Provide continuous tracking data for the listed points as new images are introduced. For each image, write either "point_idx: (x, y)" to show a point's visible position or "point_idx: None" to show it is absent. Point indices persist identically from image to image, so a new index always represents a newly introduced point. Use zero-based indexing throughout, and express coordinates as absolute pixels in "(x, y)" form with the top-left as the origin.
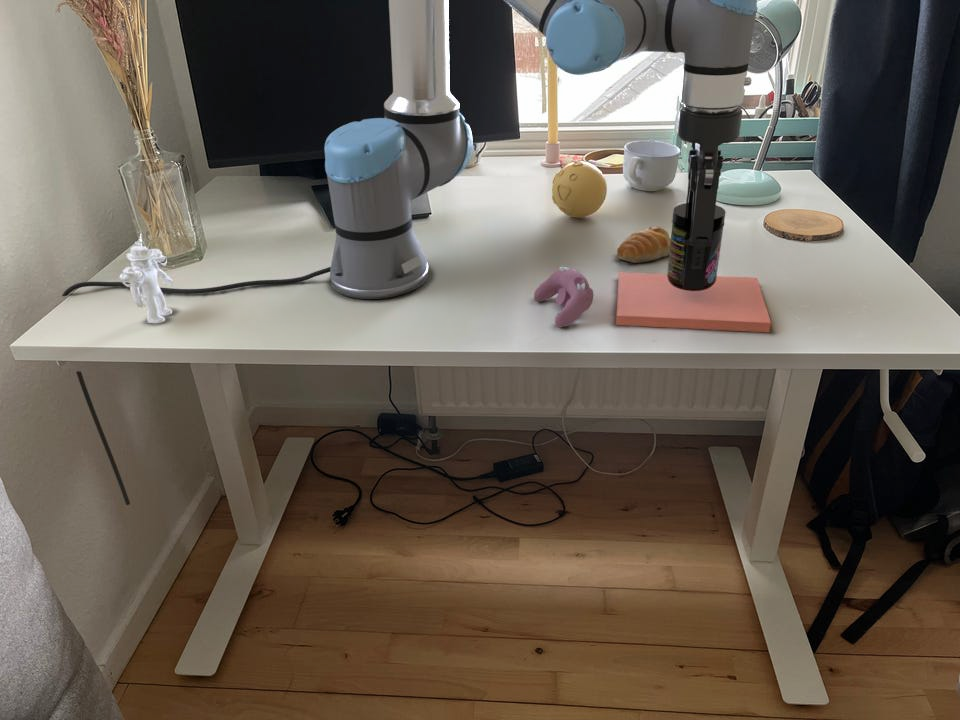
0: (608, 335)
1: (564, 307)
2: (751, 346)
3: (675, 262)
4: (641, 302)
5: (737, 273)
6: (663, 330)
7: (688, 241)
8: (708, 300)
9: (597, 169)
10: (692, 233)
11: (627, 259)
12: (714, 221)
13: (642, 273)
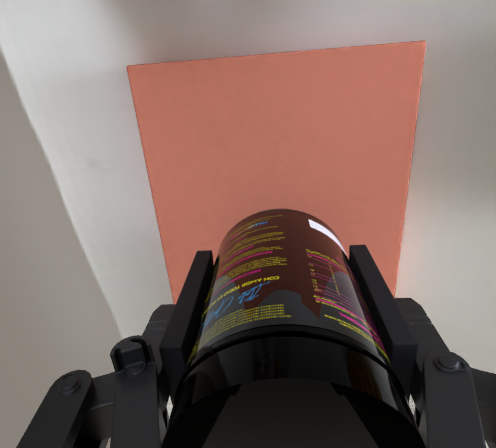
0: (79, 51)
1: None
2: (135, 326)
3: (226, 258)
4: (218, 130)
5: (450, 327)
6: (146, 182)
7: (116, 363)
8: None
9: None
10: (38, 420)
11: None
12: None
13: (414, 120)
